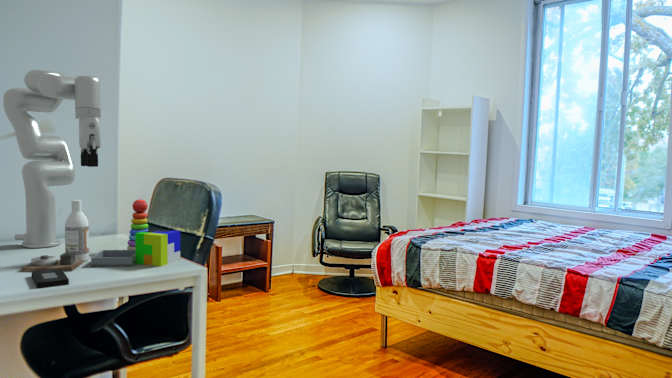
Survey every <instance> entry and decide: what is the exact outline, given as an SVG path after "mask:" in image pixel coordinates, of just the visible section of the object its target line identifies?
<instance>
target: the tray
mask: <svg viewBox="0 0 672 378" xmlns="http://www.w3.org/2000/svg"><path fill="white" fill-rule="evenodd" d="M90 261H91V262H90V264H91V267H94V268H96V267H97V268H98V267H99V268H100V267H104V268H105V267H134V265H135V264H136V263H135V250H127V249H102V250H100V251H99V252H98V253H96V254H95V255H93V256H92V257H91V259H90Z"/></svg>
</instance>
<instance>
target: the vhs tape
mask: <svg viewBox="0 0 672 378" xmlns="http://www.w3.org/2000/svg"><path fill="white" fill-rule="evenodd" d="M31 278H32V281H33V283H34V285H35V286H36V288H37V289H44V288H52V287H60V286H69V285H70V280H69V277H68V276H67V274H66V273H65V271H63V270H62V269H61V268H60V269H50V270H40V271H34V272H33V271H32V272H31Z"/></svg>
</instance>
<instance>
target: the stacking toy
mask: <svg viewBox="0 0 672 378" xmlns="http://www.w3.org/2000/svg"><path fill="white" fill-rule="evenodd" d="M132 209H133V211H134V212H133V213H132V219H131V221H130V222H131V224H130V230H129V233H130V234H129V236H128V239H129V240H128V241H127V245H128V246H127V247H126V250H135V233H139V232H144V231H148V230H149V224H148V219H147V217H148V214H147V212H146V211H147V210H148V203H147V201H145V200H144V199H142V198H141V199H136V200H135V201H133V203H132Z"/></svg>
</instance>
